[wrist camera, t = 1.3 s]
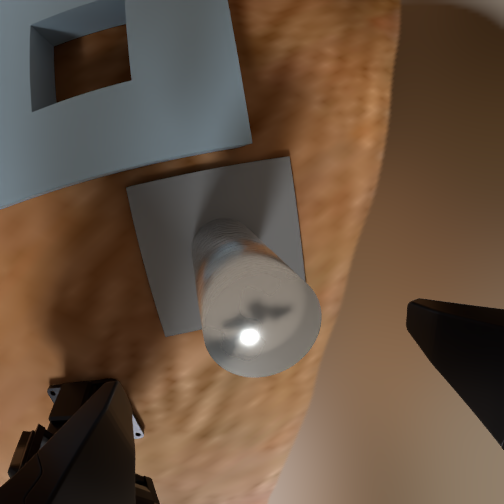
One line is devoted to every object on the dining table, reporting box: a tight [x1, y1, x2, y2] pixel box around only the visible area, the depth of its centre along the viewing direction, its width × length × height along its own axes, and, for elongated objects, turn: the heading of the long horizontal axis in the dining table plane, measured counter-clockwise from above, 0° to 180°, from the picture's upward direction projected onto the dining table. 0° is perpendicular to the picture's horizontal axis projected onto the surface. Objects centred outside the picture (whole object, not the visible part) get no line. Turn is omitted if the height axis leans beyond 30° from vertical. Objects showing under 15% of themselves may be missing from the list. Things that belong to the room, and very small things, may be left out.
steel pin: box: [191, 218, 321, 377], centre depth 15 cm, size 4×4×10 cm
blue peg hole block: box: [0, 0, 252, 209], centre depth 13 cm, size 14×16×4 cm
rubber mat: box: [126, 157, 305, 337], centre depth 20 cm, size 10×10×1 cm
